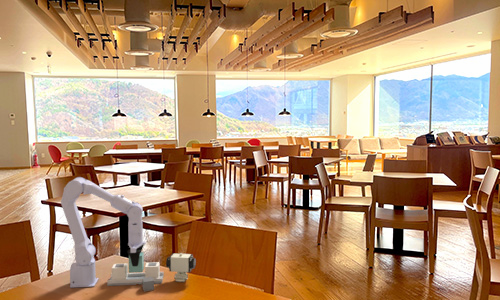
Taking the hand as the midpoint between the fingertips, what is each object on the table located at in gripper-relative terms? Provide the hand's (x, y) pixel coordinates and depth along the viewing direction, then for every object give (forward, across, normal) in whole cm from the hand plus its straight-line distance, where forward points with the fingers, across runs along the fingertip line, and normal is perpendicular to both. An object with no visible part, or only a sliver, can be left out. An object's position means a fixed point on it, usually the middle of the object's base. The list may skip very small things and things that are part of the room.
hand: (136, 263), depth 169 cm
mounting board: (+7, 0, 0) cm, 7 cm away
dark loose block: (+7, -9, -6) cm, 13 cm away
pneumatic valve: (+7, -2, -19) cm, 20 cm away
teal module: (+3, 0, 0) cm, 3 cm away
